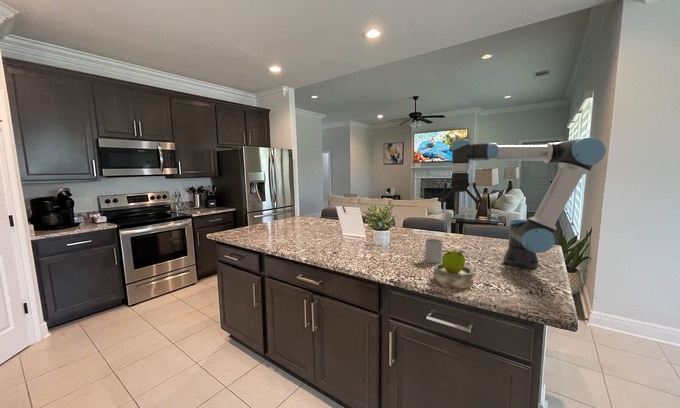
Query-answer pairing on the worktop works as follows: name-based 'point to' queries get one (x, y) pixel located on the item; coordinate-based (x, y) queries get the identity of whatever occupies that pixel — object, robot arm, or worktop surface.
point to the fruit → (453, 261)
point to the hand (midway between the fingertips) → (459, 216)
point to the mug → (433, 251)
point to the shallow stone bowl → (453, 277)
